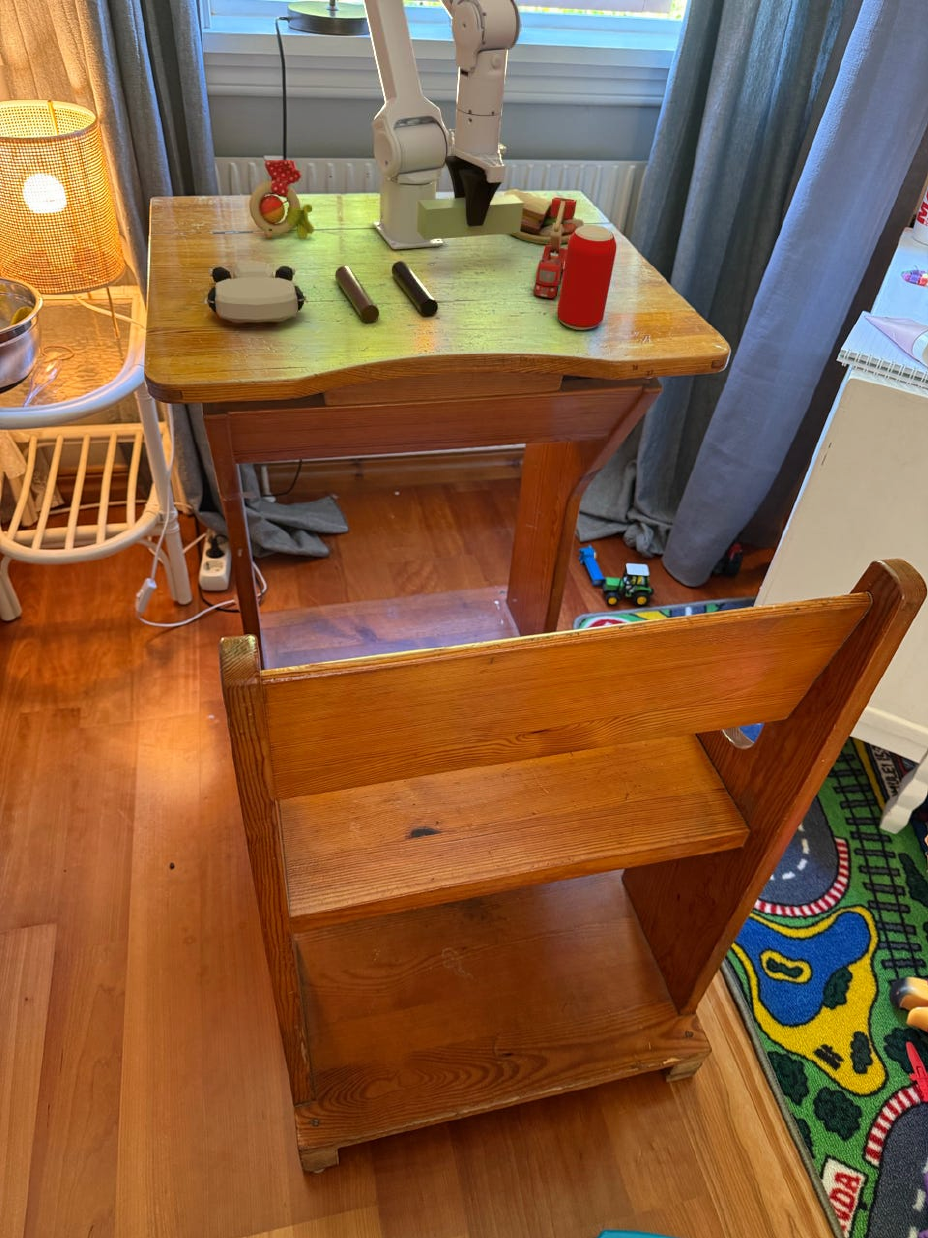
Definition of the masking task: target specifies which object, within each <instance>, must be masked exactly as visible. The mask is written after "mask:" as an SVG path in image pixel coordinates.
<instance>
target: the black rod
mask: <svg viewBox="0 0 928 1238" xmlns="http://www.w3.org/2000/svg"><path fill="white" fill-rule="evenodd" d="M391 275H392V276H393V278H394V279H395V280H396V282H397V283H398V285H400V287H401V288H402V290H403V292H405V294H406V295H407V296H408V297H409V299H410V300H411V301H412V303H413V304H414V305H415V307H416V308H417V309H418V311H419V312H420V314H421V315H422V316H424V317H426V318H430V317H433V316H434V315H435V314H436V313H437V311H438V310H439V305H438V302H437V301H436V299H435V298H434V297H433V296H432V294H431V293H430V291H429V290H428V289H427V288H426V287H425V285H424V284H423V283H422V281H420V279H419V278H418V277H417V276H416V274H415V272H413V270H412V269H411V268H410V266H409V265H408V264H407V263H406V262H405V261H403V260H402V261H401V260H399V261H397V262H395V263H394V264H393V265H392V266H391Z"/></svg>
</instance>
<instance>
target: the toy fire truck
mask: <svg viewBox="0 0 928 1238" xmlns="http://www.w3.org/2000/svg"><path fill="white" fill-rule="evenodd" d="M551 202H552V203H551V215H550V217H556V218H557V220H556V223H553V227H552V231H551V244H544V245H545V246H544V248H543V251H542V255H541V259H539V261H538V264H537V269H536V276H535V283H534V289H533V294H534V295H535V296H538V297H543V298H550V299H553V298H556V297H558V295H559V288H560V287H559V285H561V283H562V277H563V270H564V264H565V257H566V251H567V248H565V247H561V246H562V244H561V237H562V224H561V221H562V218H563V219H571V220H573V217H574V218H575V214H576V210H577V209H576V208H577V202H578V201H577V199H571V198H565V197H564V198H563V197H556V196H554V197H552V199H551ZM554 253H556V254H557V255H555V254H554Z"/></svg>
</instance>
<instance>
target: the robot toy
mask: <svg viewBox="0 0 928 1238" xmlns="http://www.w3.org/2000/svg"><path fill="white" fill-rule="evenodd" d="M296 271H297V269H296V267H290V266H289V265H281V266H279V267H278V268H277V269H276V270H275V274H274V268H273V267H272V266H271V265H270V263H268V262H265V261H261V260H260V261H259V260H248V261H247V260H245V261H241V262H237V263H235V265H234V266H233V267H232V275H231V271H229V270H228V269H227V268H225V267H222V266H216V267H214V268H209V269H208V274H209V275H210V277H212V280H213V282H214V283H215V286H214V287H211V289H210V291H209V292H208V294H207V297H204V306H208V308H210V309H211V311H212V312H213V313H215V314H217V316H218V317H219V318H220V319H223V320H225V321H230V322H232V323H234V324H243V323H266V322H267V323H268V322H272V323H281V322H284V321H285V320H288V319H290V318H293V317H295V316H297V313H298V312H300V311H301V310H302V308H303V307H304V305H305V303H306V304H308V303H309V299H308V298H307V295H304V292H303V291H302V289H300V287H299V286H297V285H294V283H293V278H294V276H295V274H296Z"/></svg>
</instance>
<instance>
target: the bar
mask: <svg viewBox="0 0 928 1238" xmlns="http://www.w3.org/2000/svg"><path fill="white" fill-rule="evenodd" d="M522 211H523V202H522V201H521V200H520V199H519V198H517V197H516V196H515V195H514V194H512V195H504V194H499V195H494V196H493V198H492V201H491V203H490V206H489V209H488V212H487V215H486V218H485V221H484V223H483V225H482V226H468V224H467V219H466V198H455V197H453V198H452V197H451V198H436V199H434V200H419V201H418V221H417V231H418V232H419V234H420V235H421V236H422V237H423V238H424V239H425V240H432V239H440V240H442V239H443V240H444V239H456V238H467V237H469V238H470V237H481V236H494V235H507V234H511V233H520V228H521V220H522Z"/></svg>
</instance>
